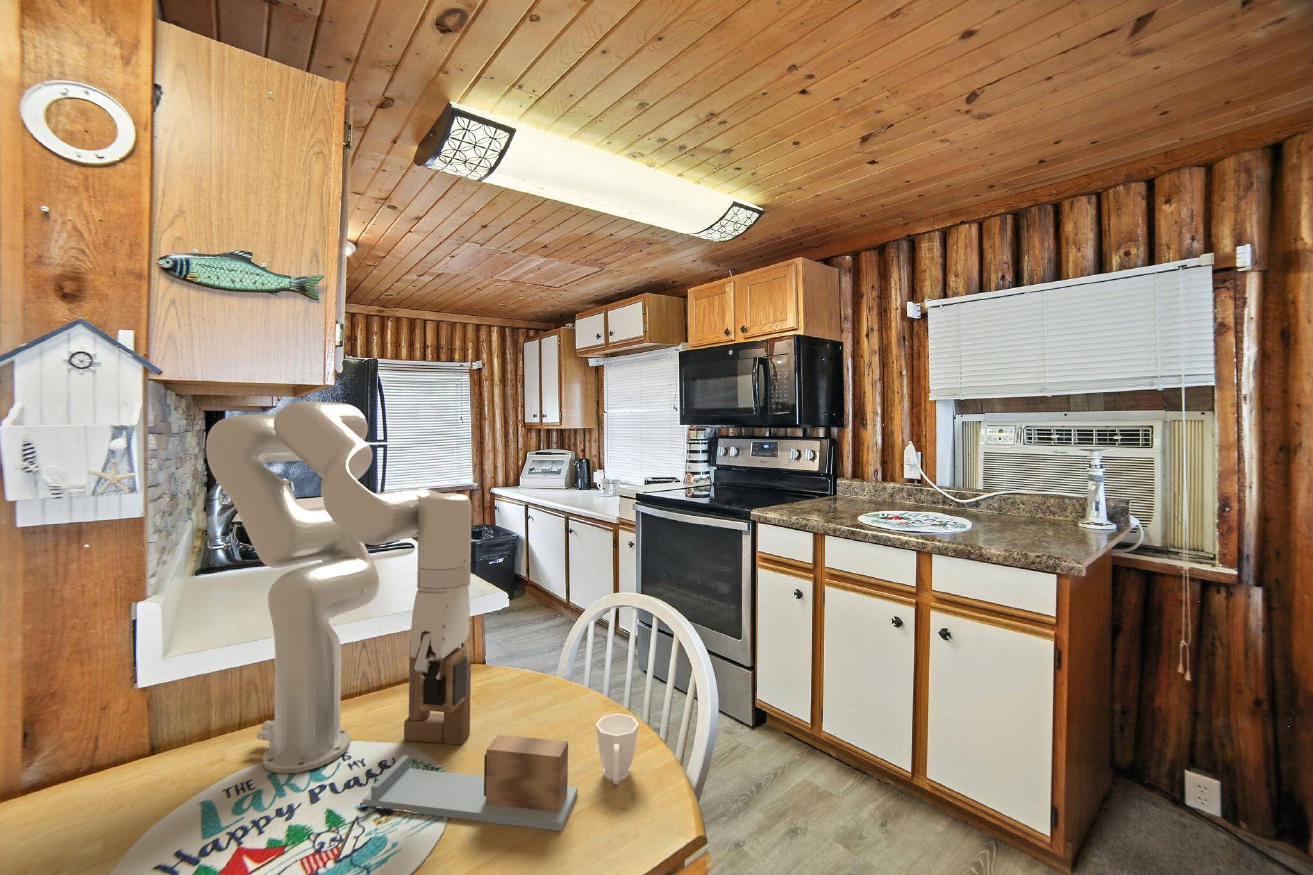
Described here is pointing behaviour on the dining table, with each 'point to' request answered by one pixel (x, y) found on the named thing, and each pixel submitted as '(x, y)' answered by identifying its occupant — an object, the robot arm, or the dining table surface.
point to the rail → (456, 798)
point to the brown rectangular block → (450, 682)
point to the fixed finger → (526, 773)
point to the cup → (617, 744)
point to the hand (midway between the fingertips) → (442, 695)
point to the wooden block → (436, 715)
